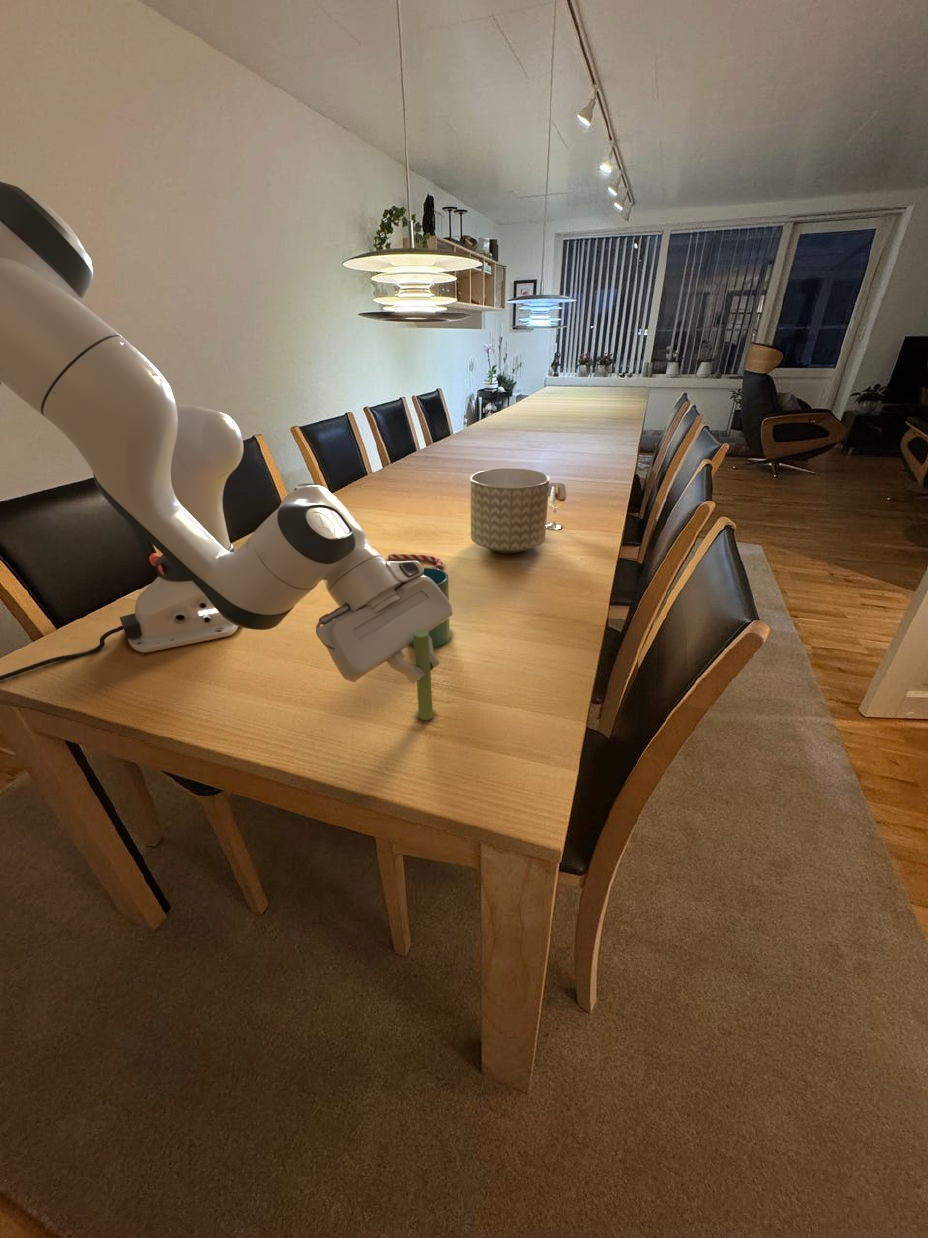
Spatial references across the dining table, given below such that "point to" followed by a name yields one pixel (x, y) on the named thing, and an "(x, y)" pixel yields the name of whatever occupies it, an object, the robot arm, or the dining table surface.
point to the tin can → (441, 579)
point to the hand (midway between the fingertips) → (426, 673)
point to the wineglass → (556, 500)
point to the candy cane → (418, 557)
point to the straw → (425, 682)
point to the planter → (509, 509)
